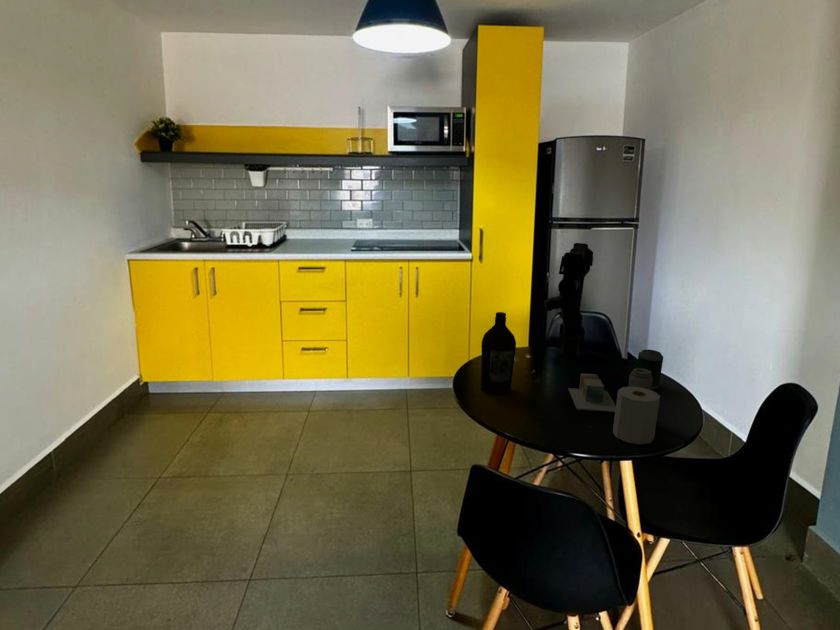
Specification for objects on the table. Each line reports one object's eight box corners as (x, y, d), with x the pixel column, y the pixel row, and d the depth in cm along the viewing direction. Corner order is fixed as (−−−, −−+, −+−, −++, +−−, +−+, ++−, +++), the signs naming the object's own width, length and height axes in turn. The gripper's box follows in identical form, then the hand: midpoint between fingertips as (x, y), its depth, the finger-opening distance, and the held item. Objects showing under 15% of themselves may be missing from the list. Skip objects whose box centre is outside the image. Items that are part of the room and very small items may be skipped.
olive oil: (475, 383, 186) (479, 309, 180) (507, 383, 187) (512, 309, 181) (483, 396, 176) (488, 317, 169) (516, 395, 177) (523, 317, 171)
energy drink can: (641, 427, 158) (649, 376, 154) (620, 420, 162) (627, 370, 158) (649, 420, 162) (656, 371, 159) (628, 414, 166) (635, 365, 162)
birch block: (580, 373, 183) (587, 385, 172) (596, 374, 183) (604, 386, 172) (579, 387, 184) (585, 401, 174) (595, 388, 184) (602, 402, 173)
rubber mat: (568, 389, 184) (568, 388, 184) (606, 391, 183) (606, 390, 183) (576, 409, 168) (577, 408, 168) (618, 412, 167) (618, 411, 167)
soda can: (662, 391, 185) (667, 356, 182) (638, 390, 185) (643, 355, 182) (653, 383, 192) (658, 349, 189) (631, 382, 192) (635, 348, 189)
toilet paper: (605, 428, 157) (610, 387, 154) (639, 426, 159) (644, 385, 156) (626, 446, 147) (632, 402, 144) (661, 443, 149) (668, 399, 146)
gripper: (543, 283, 204) (539, 326, 208) (549, 294, 186) (545, 340, 190) (575, 285, 203) (570, 327, 207) (584, 296, 185) (579, 342, 189)
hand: (566, 334), depth 199 cm, fingers closed
